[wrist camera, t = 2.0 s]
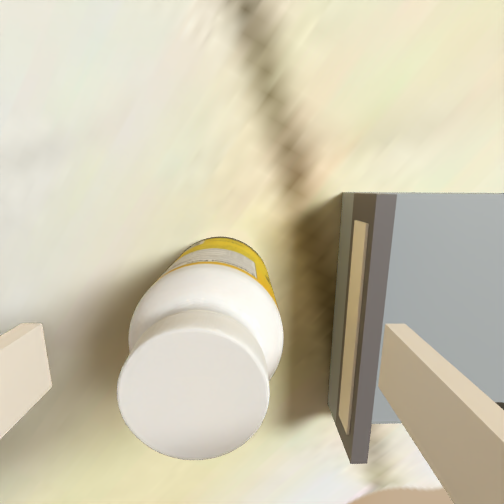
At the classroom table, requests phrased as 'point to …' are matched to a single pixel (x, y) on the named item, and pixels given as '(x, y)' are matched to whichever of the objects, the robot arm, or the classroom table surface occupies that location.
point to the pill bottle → (202, 353)
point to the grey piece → (414, 296)
